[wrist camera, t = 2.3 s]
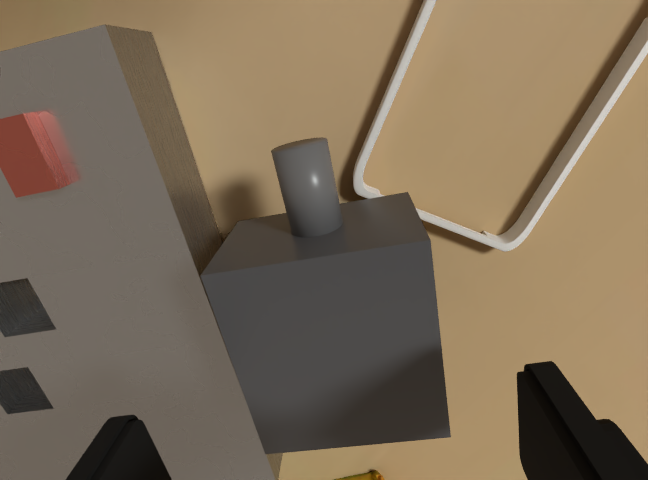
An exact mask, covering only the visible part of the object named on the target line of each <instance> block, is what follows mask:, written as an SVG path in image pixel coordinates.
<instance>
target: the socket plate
mask: <svg viewBox="0 0 648 480" xmlns="http://www.w3.org/2000/svg"><path fill="white" fill-rule="evenodd" d="M222 244H223V243H222V240H221V237H220V234H219V231H218V228H217V225H216V222H215V219H214V217H213V214H212V211H211V208H210V205H209V202H208V199H207V196H206V193H205V190H204V187H203V184H202V181H201V178H200V175H199V172H198V169H197V166H196V163H195V160H194V157H193V154H192V151H191V148H190V145H189V142H188V139H187V136H186V133H185V130H184V127H183V124H182V121H181V118H180V115H179V112H178V109H177V106H176V103H175V101H174V98H173V95H172V92H171V89H170V86H169V83H168V80H167V77H166V74H165V71H164V68H163V65H162V62H161V59H160V56H159V53H158V50H157V47H156V44H155V41H154V38H153V35H152V32H147V31H141V30H135V29H129V28H123V27H117V26H111V25H101V26H97V27H94V28H90V29H86V30H82V31H78V32H74V33H71V34H67V35H63V36H59V37H55V38H51V39H48V40H44V41H40V42H36V43H32V44H28V45H24V46H21V47H17V48H13V49H9V50H5V51H1V52H0V480H66V478H67V477H68V475H69V474H70V472H71V471H72V470H73V468H74V467H75V465H76V464H77V462H78V461H79V459H80V458H81V457H82V455H83V454H84V452H85V451H86V449H87V448H88V446H89V445H90V444H91V442H92V441H93V439H94V438H95V436H96V435H97V433H98V432H99V431H100V429H101V428H102V426H103V425H104V423H105V422H106V421H107V420H108V419H109V418H111V417H116V416H124V415H135V416H137V418H138V419H139V420H142V421H143V422H144V424H145V426H146V428H147V430H148V432H149V434H150V436H151V438H152V440H153V442H154V444H155V446H156V448H157V450H158V452H159V455H160V457H161V459H162V461H163V463H164V465H165V467H166V469H167V471H168V473H169V475H170V477H171V479H172V480H278V478H279V472H280V466H281V460H282V454H283V453H275V454H265V452H264V449H263V447H262V444H261V441H260V438H259V436H258V433H257V430H256V427H255V425H254V422H253V419H252V416H251V414H250V411H249V408H248V405H247V403H246V400H245V397H244V394H243V392H242V389H241V386H240V383H239V381H238V378H237V375H236V372H235V370H234V367H233V364H232V361H231V359H230V356H229V353H228V350H227V348H226V345H225V342H224V339H223V337H222V334H221V331H220V328H219V326H218V323H217V320H216V317H215V315H214V312H213V309H212V306H211V304H210V301H209V298H208V295H207V293H206V290H205V287H204V284H203V282H202V279H201V276H200V275H201V274H202V273H203V271H204V270H205V268H206V267H207V265H208V264H209V263H210V261H211V260H212V258H213V257H214V255H215V254H216V253H217V251H218V250H219V248H220V247H221V245H222Z"/></svg>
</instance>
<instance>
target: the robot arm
mask: <svg viewBox="0 0 648 480" xmlns="http://www.w3.org/2000/svg"><path fill="white" fill-rule="evenodd" d="M517 392H518V421H519V449H520V459H521V463H522V467H523V470H524V472H525V474H526V477H527V479H528V480H648V464H647V463H646V461H645V460H644V459H643V458H642V456H641V455H640V454H639V452H638V451H637V450H636V449H635V447H634V446H633V445H632V443H631V442H630V441H629V440H628V438H627V437H626V436H625V434H624V433H623V432H622V431H621V429H620V428H619V427H618V426H617V425H616V424H615V423H614V422H612V421H611V420H609V419H600V420H596V419H595V417H594V416H593V415H592V413H591V412H590V411H589V409H588V408H587V407H586V405H585V404H584V402H583V401H582V400H581V398H580V397H579V396H578V394H577V393H576V392H575V390H574V389H573V387H572V386H571V385H570V383H569V382H568V381H567V379H566V378H565V377H564V375H563V374H562V372H561V371H560V370H559V368H558V367H557V366H556V364H555V363H554V362H552V361H548V362H541V363H533V364H526V365H525V366H524V371H523V372H518V373H517ZM66 480H172V479H171V477H170V475H169V473H168V471H167V469H166V467H165V465H164V463H163V461H162V459H161V457H160V455H159V452H158V450H157V448H156V446H155V444H154V442H153V440H152V438H151V436H150V434H149V432H148V430H147V428H146V426H145V424H144V422H143V421H142V420H139V419H138V418H137V416H135V415H124V416H116V417H111V418H109V419H108V420H107V421H106V422H105V423H104V425H103V426H102V428H101V429H100V431H99V432H98V433H97V435H96V436H95V438H94V439H93V441H92V442H91V444H90V445H89V446H88V448H87V449H86V451H85V452H84V454H83V455H82V457H81V458H80V459H79V461H78V462H77V464H76V465H75V467H74V468H73V470H72V471H71V472H70V474H69V475H68V477H67V478H66Z"/></svg>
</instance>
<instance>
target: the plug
mask: <svg viewBox="0 0 648 480" xmlns="http://www.w3.org/2000/svg"><path fill="white" fill-rule="evenodd" d="M271 152H272V156H273V160H274V164H275V168H276V172H277V176H278V180H279V184H280V188H281V192H282V196H283V200H284V204H285V208H286V212H287V213H283V214H278V215H272V216H266V217H260V218H254V219H248V220H243V221H238V222H237V224H236V225H235V227H234V228H233V230H232V231H231V232H230V234H229V235H228V237H227V238H226V240H225V241H224V242H223V244H222V245H221V247H220V248H219V250H218V251H217V253H216V254H215V255H214V257H213V258H212V260H211V261H210V263H209V264H208V265H207V267H206V268H205V270H204V271H203V273H202V274H201V275H200V276H201V279H202V282H203V284H204V287H205V290H206V293H207V295H208V298H209V301H210V304H211V306H212V309H213V312H214V315H215V317H216V320H217V323H218V326H219V328H220V331H221V334H222V337H223V339H224V342H225V345H226V348H227V350H228V353H229V356H230V359H231V361H232V364H233V367H234V370H235V372H236V375H237V378H238V381H239V383H240V386H241V389H242V392H243V394H244V397H245V400H246V403H247V405H248V408H249V411H250V414H251V416H252V419H253V422H254V425H255V427H256V430H257V433H258V436H259V438H260V441H261V444H262V447H263V449H264V452H265V454H275V453H285V452H296V451H307V450H318V449H329V448H339V447H350V446H361V445H372V444H382V443H393V442H404V441H415V440H426V439H436V438H447V437H451V435H450V426H449V416H448V406H447V397H446V387H445V377H444V367H443V358H442V348H441V338H440V329H439V319H438V309H437V299H436V290H435V280H434V270H433V261H432V251H431V241H430V238H429V236H428V234H427V232H426V230H425V227H424V225H423V223H422V221H421V219H420V217H419V215H418V212H417V210H416V208H415V206H414V204H413V202H412V200H411V198H410V195H409V193H408V192H405V193H400V194H394V195H388V196H382V197H376V198H371V199H365V200H359V201H353V202H347V203H341V204H339V199H338V194H337V189H336V183H335V178H334V173H333V168H332V163H331V157H330V152H329V147H328V142H327V139H326V138H311V139H305V140H300V141H295V142H291V143H288V144H284V145H281V146H279V147H276V148H274V149H273V150H272V151H271Z"/></svg>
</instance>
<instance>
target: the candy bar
mask: <svg viewBox="0 0 648 480" xmlns="http://www.w3.org/2000/svg"><path fill="white" fill-rule="evenodd" d="M334 480H384V478H383V476H382V475H381V474H380V473H379V472H378V471H376V470H375V471H373V472H370V473H364V474H358V475H353V476H348V477H344V478H339V479H334Z"/></svg>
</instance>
